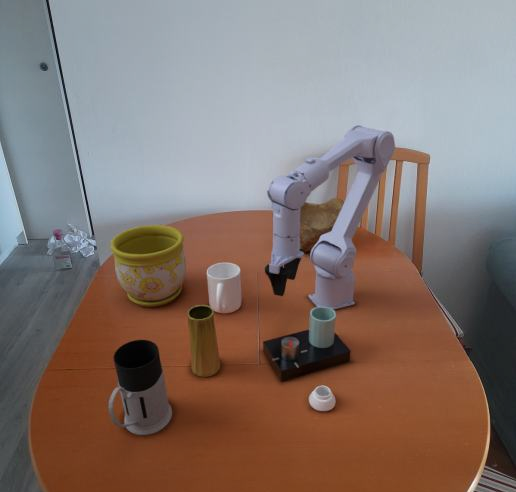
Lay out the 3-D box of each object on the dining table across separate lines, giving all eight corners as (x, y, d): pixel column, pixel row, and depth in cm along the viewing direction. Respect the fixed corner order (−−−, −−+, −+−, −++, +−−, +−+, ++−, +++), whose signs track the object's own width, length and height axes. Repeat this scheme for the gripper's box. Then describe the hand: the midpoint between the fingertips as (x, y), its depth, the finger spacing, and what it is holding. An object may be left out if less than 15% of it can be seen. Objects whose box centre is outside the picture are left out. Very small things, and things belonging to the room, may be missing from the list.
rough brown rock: (273, 259, 137) (274, 216, 129) (271, 232, 151) (272, 192, 142) (348, 260, 137) (354, 217, 129) (339, 233, 151) (345, 193, 143)
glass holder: (179, 402, 86) (170, 340, 79) (147, 465, 74) (132, 400, 66) (137, 395, 88) (125, 334, 80) (99, 456, 76) (80, 391, 68)
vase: (197, 381, 91) (191, 324, 84) (187, 363, 96) (180, 308, 89) (225, 371, 93) (221, 315, 86) (213, 354, 98) (209, 300, 91)
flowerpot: (127, 320, 109) (115, 262, 101) (116, 285, 124) (105, 232, 116) (197, 302, 116) (192, 246, 108) (179, 271, 130) (173, 219, 122)
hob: (327, 334, 103) (327, 323, 102) (350, 362, 95) (352, 351, 93) (261, 352, 98) (261, 341, 97) (280, 383, 90) (280, 372, 88)
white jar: (327, 390, 88) (304, 397, 86) (327, 378, 87) (304, 386, 85) (340, 407, 84) (316, 416, 82) (341, 396, 82) (317, 404, 81)
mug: (236, 324, 107) (234, 288, 102) (202, 322, 108) (199, 286, 103) (244, 297, 118) (242, 263, 113) (213, 295, 119) (210, 261, 114)
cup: (303, 338, 98) (304, 312, 94) (322, 329, 100) (323, 303, 97) (320, 351, 94) (322, 324, 90) (339, 341, 96) (341, 315, 93)
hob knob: (280, 350, 94) (280, 335, 92) (297, 349, 94) (297, 334, 92) (282, 361, 91) (282, 347, 89) (299, 360, 91) (300, 346, 89)
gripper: (292, 249, 89) (290, 306, 95) (313, 222, 100) (310, 275, 107) (260, 243, 91) (260, 299, 98) (284, 218, 103) (283, 269, 109)
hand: (284, 286), depth 102 cm, fingers open, 7 cm apart
